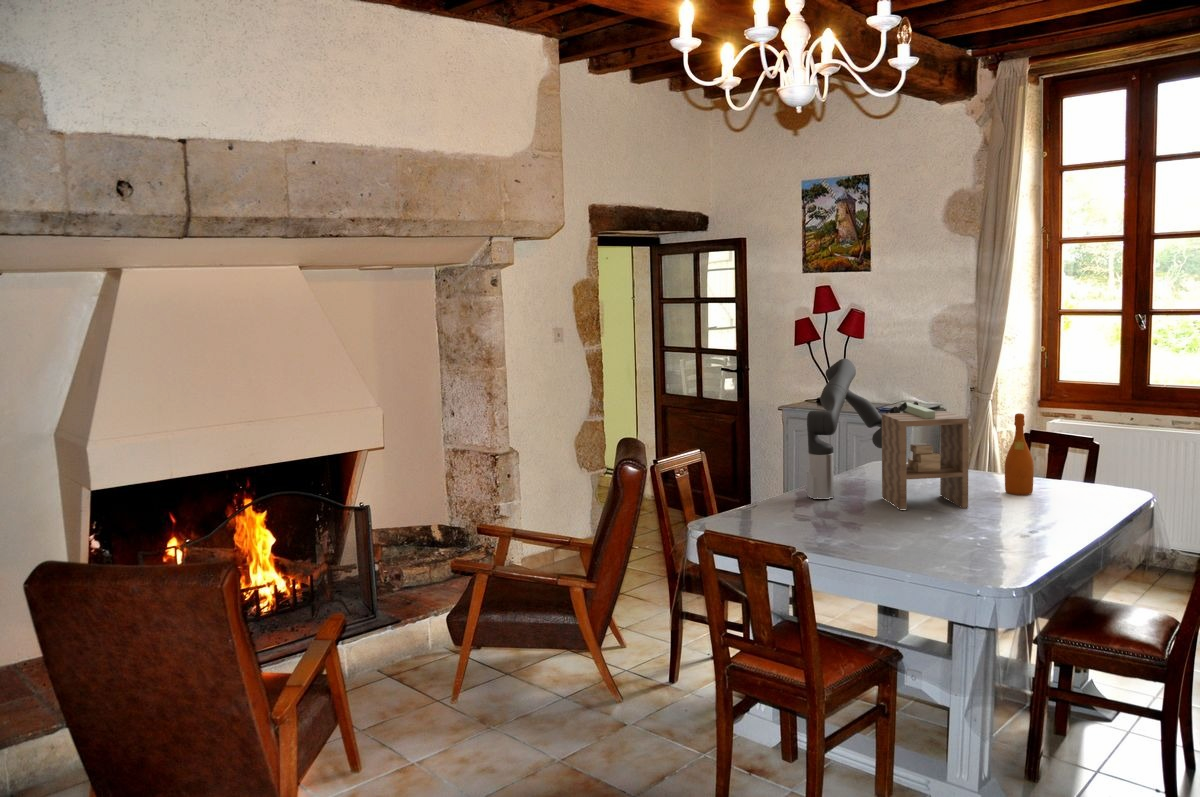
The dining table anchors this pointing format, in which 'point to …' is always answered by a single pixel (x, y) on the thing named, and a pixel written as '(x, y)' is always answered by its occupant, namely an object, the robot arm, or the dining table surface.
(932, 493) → the dining table surface
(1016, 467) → the wine bottle
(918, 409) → the slat
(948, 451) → the rack
